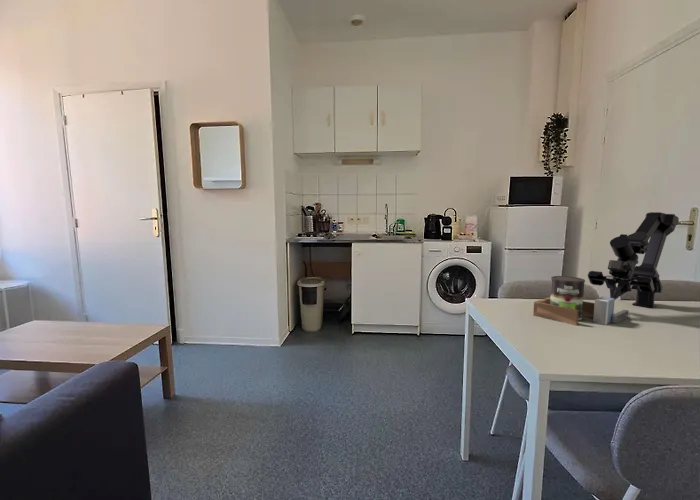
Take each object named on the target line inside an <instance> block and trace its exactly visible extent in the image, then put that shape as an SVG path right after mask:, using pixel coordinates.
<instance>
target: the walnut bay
mask: <svg viewBox="0 0 700 500" xmlns="http://www.w3.org/2000/svg"><path fill="white" fill-rule="evenodd" d="M550 298H551V296H549V297H545V298H543V299H540V300H536V301H534V302H533V314H532V315H533V316H534V317H537V318H538V317H539V318H544V319H548V320H551V319H552V320H553V321H555V322H561V323H564V322H565V323H564V324H568V323H569V324H570V325H573V326H578V321H579V320H578V310H575V309H570V308H565V307H560V306H556V305H551V304H550ZM594 305H595V302H590V301H584V300H583V308H582V317H583V316H585V317H589V318H594ZM552 320H551V321H552Z"/></svg>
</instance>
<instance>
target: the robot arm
mask: <svg viewBox="0 0 700 500" xmlns="http://www.w3.org/2000/svg"><path fill="white" fill-rule="evenodd" d="M678 224H679V216H677V215H675V213H665V212H661V211H660V212H659V211H658V212H657V211H656V212H654V211H652V212H651V211H649V212H647V213H646V214H645V218H644V219H643V221H642V222H641V224H640V225H639V226H638V227H637V229H636V230H635V232H633V233H629V234H624V233H623V234H622V233H621V234H620V235H619V236H616V237H614V238H612V239H611V240H610V242H609V246H610V247H611V249H612V252H613V254H614V255H615V257H617V259H616V260H615V259H610V260H608V261H609V262H608V266H607V270H609V271H608V274H607V275H604V274H603V272H602V271H598V270H590V271H588V273H587V277H588V280H589V283H590V284H591V285H593V286H603V285H604V284H605V286H606V288H607V289H608V290H609V296H610V297H609V298H614V299H615V301H616V300H617V299H618V298H620V297H621V296H622V295H624V294H627V292H632V290H635V291H636V293H635V295H636V296H635V302H633V303H632V305H633V306H638V307H643V308H644V307H645V308H651V309H653V308H655V307H657V306H658V304H657V303H655V297H656V294H657V293H660V294H661V293H662V290H663V285H662V282H661V279H660V274H659V271H658V270H657V268H658V265H659V261H660V259H661V255H662V252H663V249H664V246H665V242H666V240H667V236H670V235H671V234H672V233H673V232H675V229H676V226H678ZM639 255H644V256H643V260H642V263H641V264H640V265H637V264H639Z"/></svg>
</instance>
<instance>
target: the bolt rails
mask: <svg viewBox="0 0 700 500" xmlns="http://www.w3.org/2000/svg"><path fill="white" fill-rule="evenodd" d="M629 311H630V310H628V309H623V310H621V311H618V312H617V313H613V315H612V322H611V323H613V324H618V323H619V322H622V321H623V320H625V319H627V318H628V317H629ZM592 318H593V319H594V317H592Z"/></svg>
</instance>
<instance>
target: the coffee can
mask: <svg viewBox="0 0 700 500" xmlns="http://www.w3.org/2000/svg"><path fill="white" fill-rule="evenodd" d="M585 283H586V280H585V278H581V277H576V276H570V275H569V276H568V275H555V276H554V275H553V276H551V284H550V297H551V298H550V304H551V305H556V306H560V307H565V308H570V309H575V310H578V321H581V320H582V319H583V315H582V308H583V301H584V295H585V294H584V293H585Z"/></svg>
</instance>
